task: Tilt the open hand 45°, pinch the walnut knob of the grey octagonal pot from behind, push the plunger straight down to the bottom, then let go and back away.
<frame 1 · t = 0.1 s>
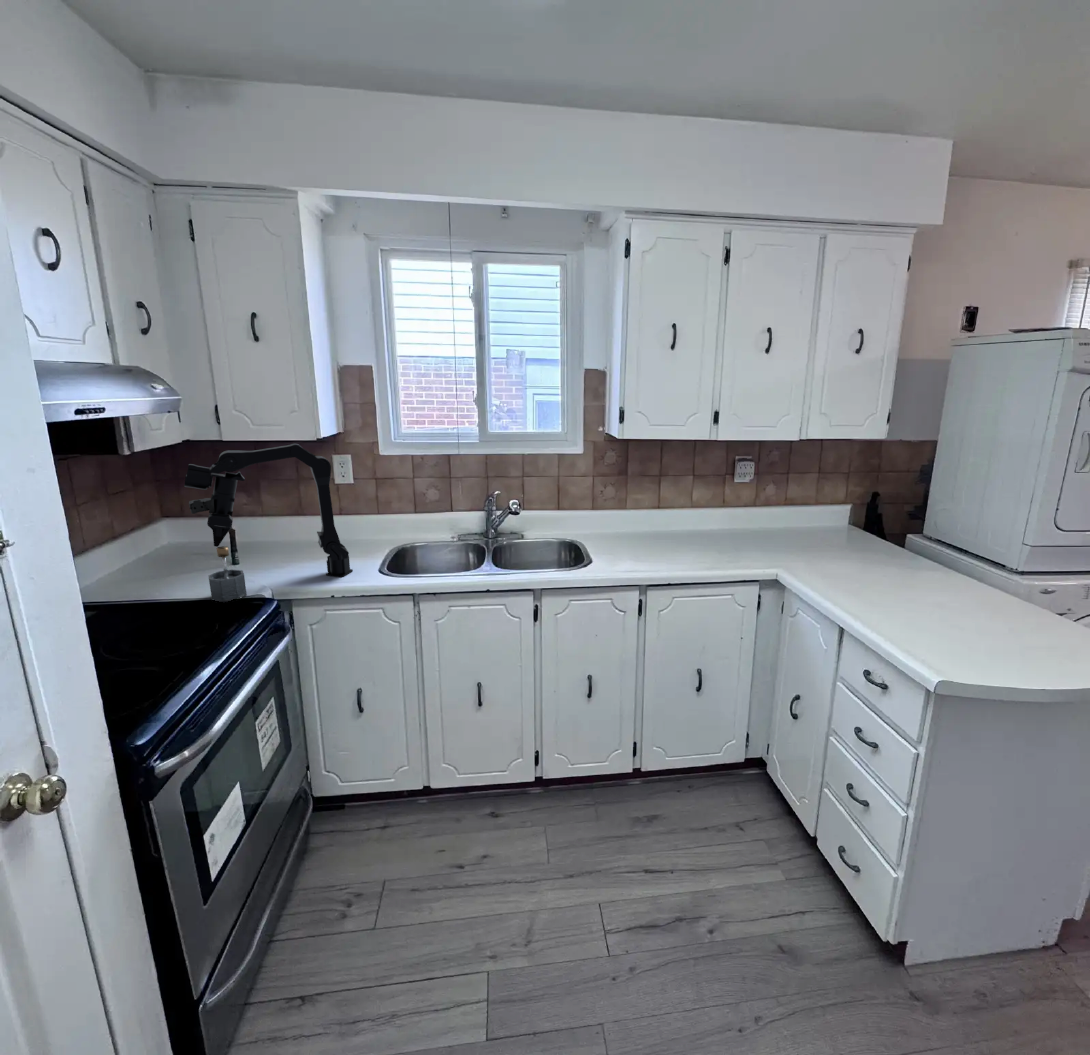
hand: (216, 542, 169), 15 cm above the worktop, tool pointing down, fingers open, 9 cm apart
grey octagonal pot: (229, 596, 167), on the worktop
plunger: (224, 564, 164), point 10 cm above the worktop, slide at 0.0 cm
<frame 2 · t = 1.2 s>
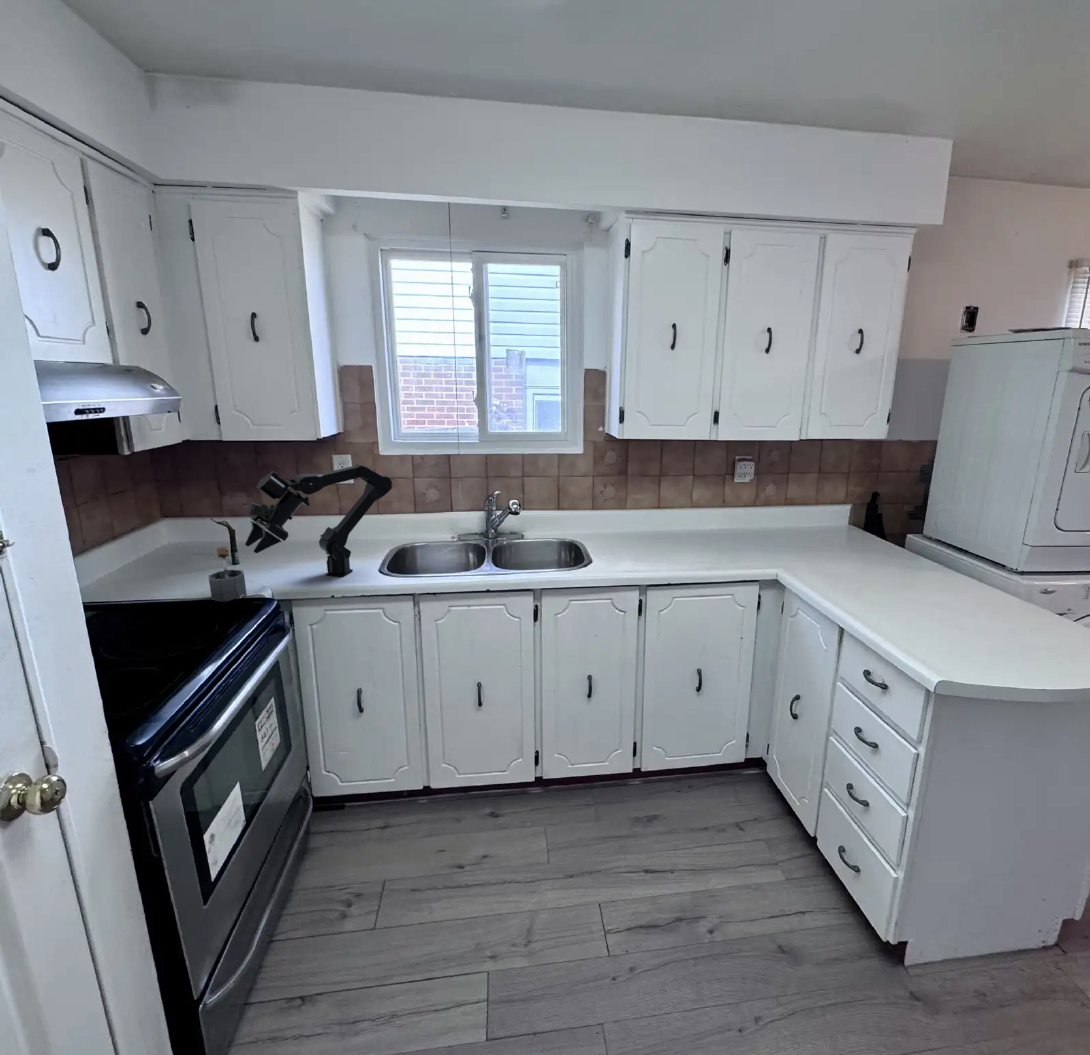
hand: (250, 548, 168), 14 cm above the worktop, tool tilted 45°, fingers open, 9 cm apart
nothing on the worktop moved.
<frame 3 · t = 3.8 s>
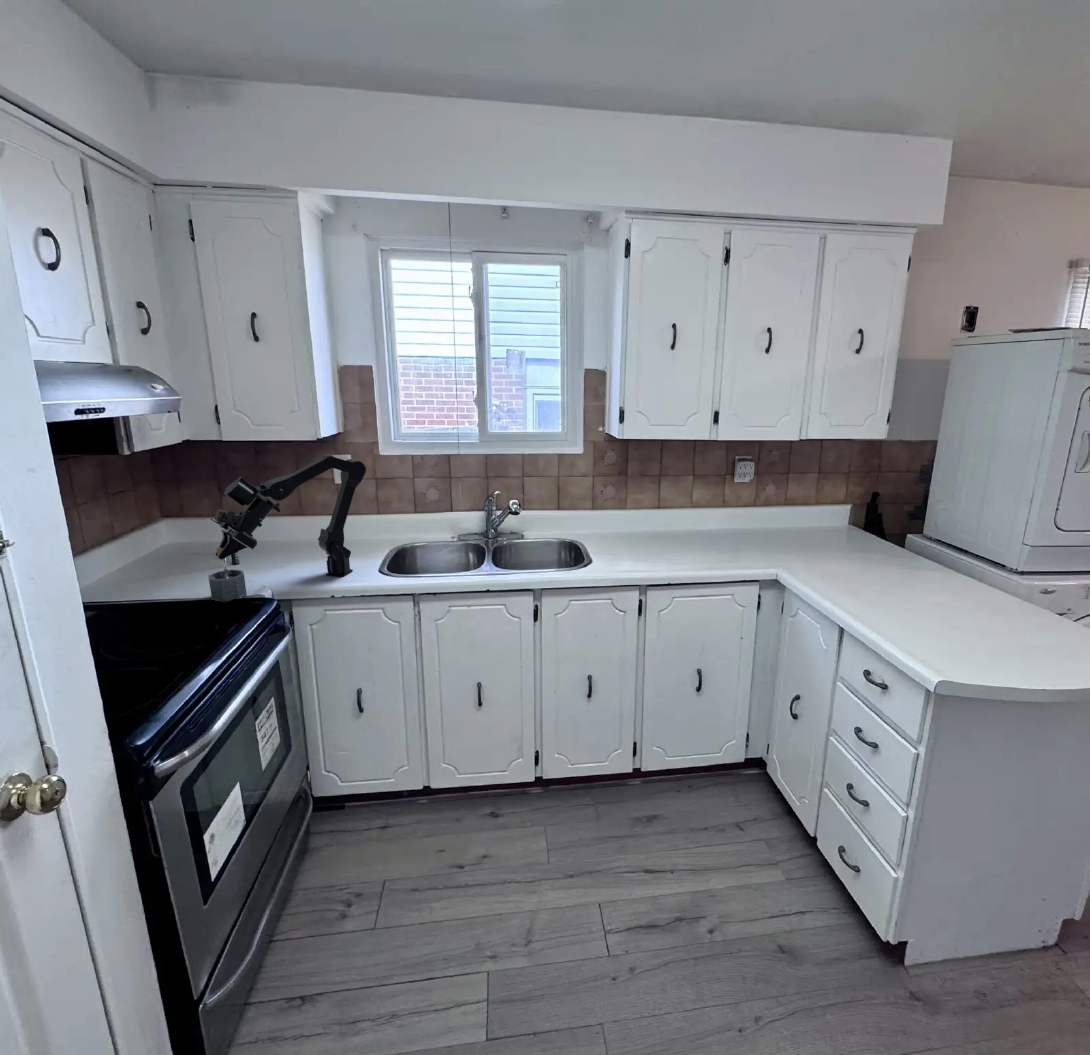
hand: (218, 557, 163), 13 cm above the worktop, tool tilted 45°, fingers closed on plunger, 3 cm apart
plunger: (224, 564, 164), point 10 cm above the worktop, slide at 0.1 cm, touching gripper
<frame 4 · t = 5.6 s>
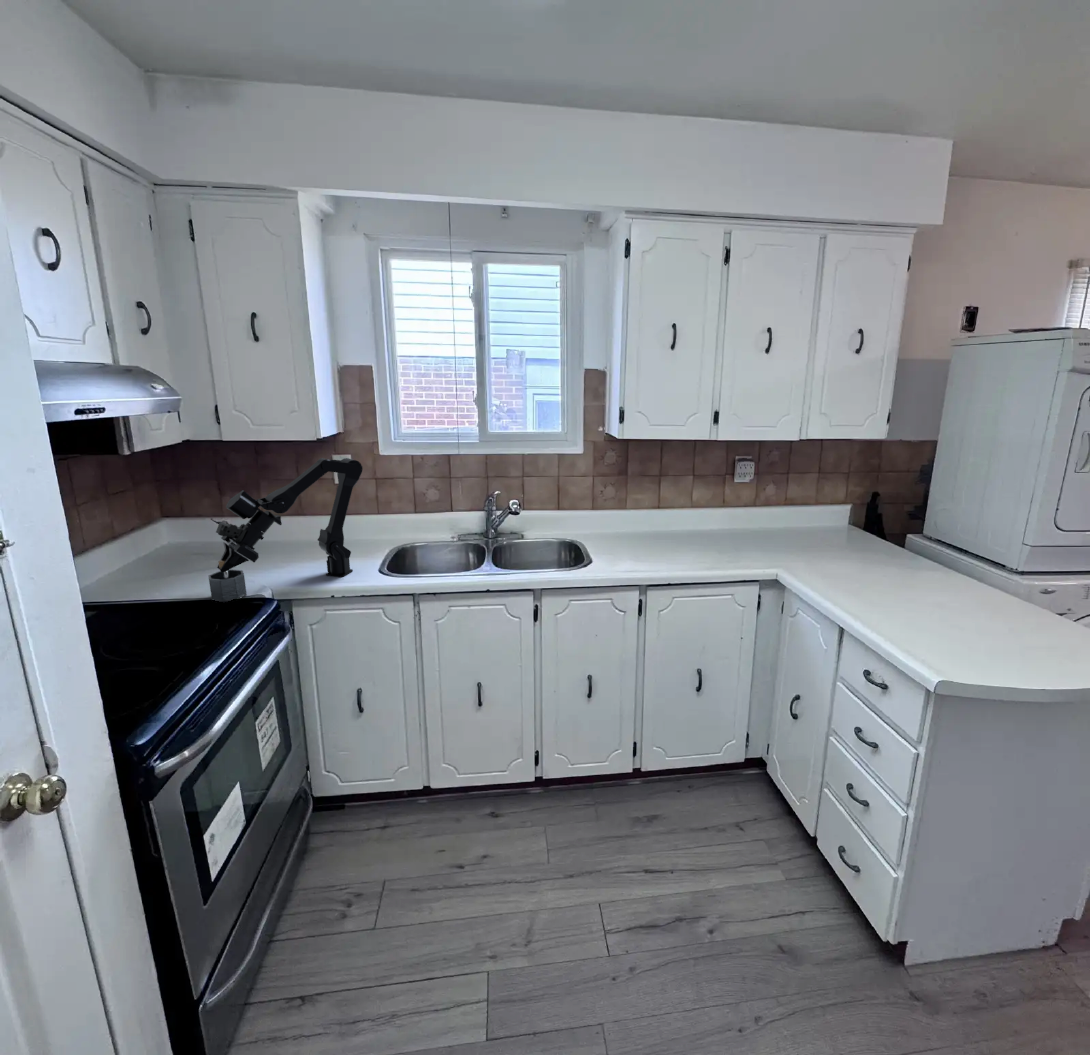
hand: (220, 570, 164), 9 cm above the worktop, tool tilted 45°, fingers closed on plunger, 3 cm apart
plunger: (226, 577, 165), point 6 cm above the worktop, slide at 4.1 cm, touching gripper
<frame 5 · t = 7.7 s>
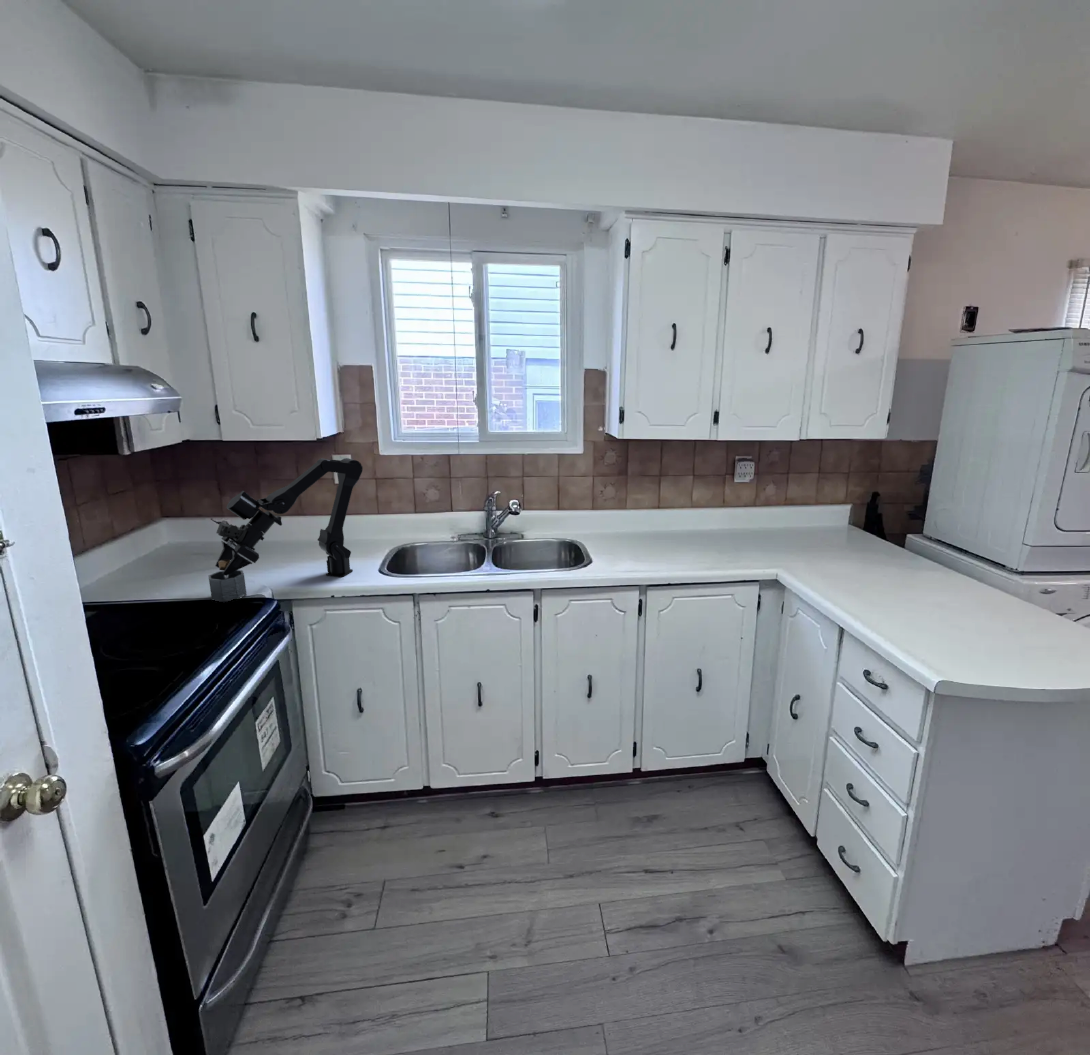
hand: (220, 570, 164), 9 cm above the worktop, tool tilted 45°, fingers open, 9 cm apart
plunger: (226, 577, 165), point 6 cm above the worktop, slide at 4.1 cm
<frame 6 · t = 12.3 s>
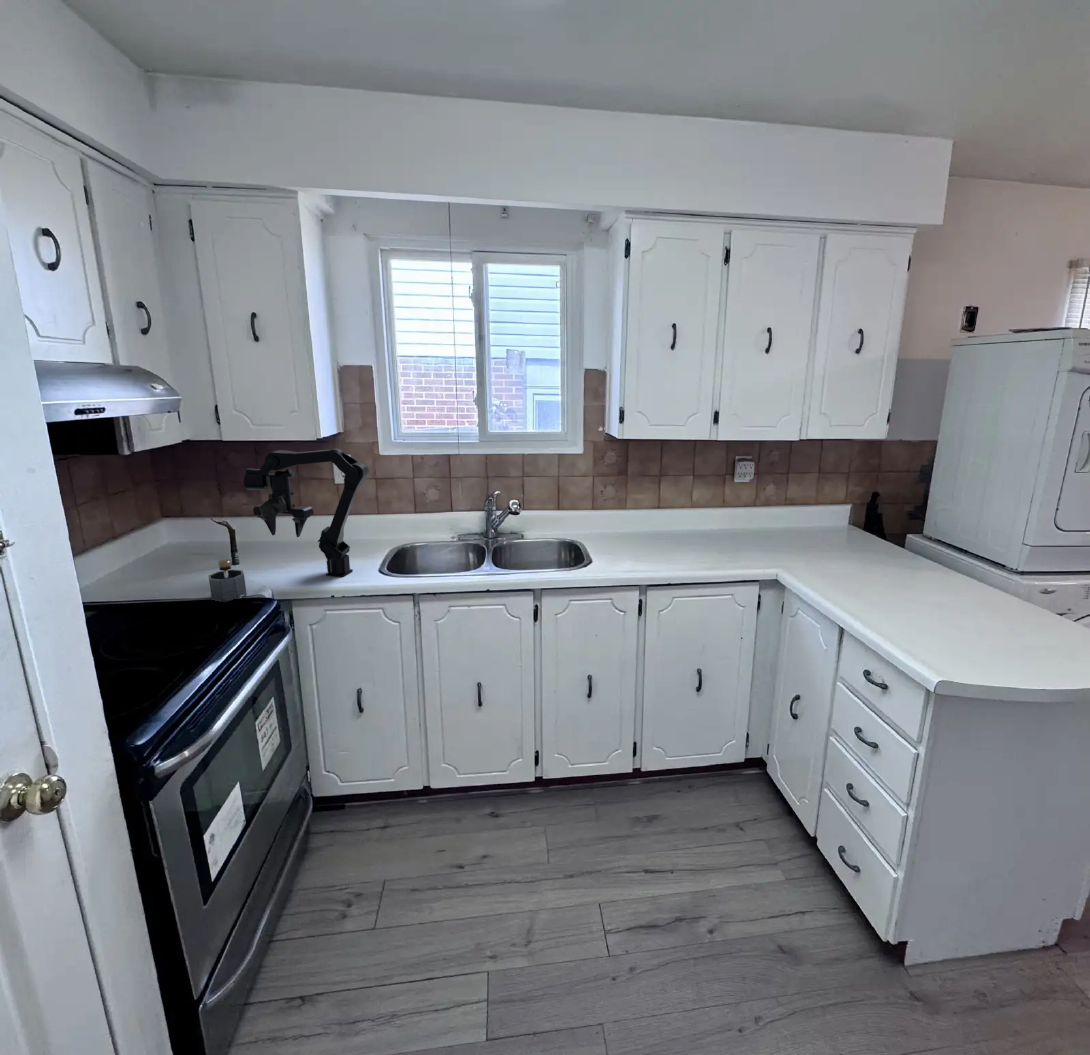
hand: (285, 536, 184), 13 cm above the worktop, tool pointing down, fingers open, 9 cm apart
nothing on the worktop moved.
at the end: plunger slide at 4.1 cm; the gripper is holding nothing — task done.
